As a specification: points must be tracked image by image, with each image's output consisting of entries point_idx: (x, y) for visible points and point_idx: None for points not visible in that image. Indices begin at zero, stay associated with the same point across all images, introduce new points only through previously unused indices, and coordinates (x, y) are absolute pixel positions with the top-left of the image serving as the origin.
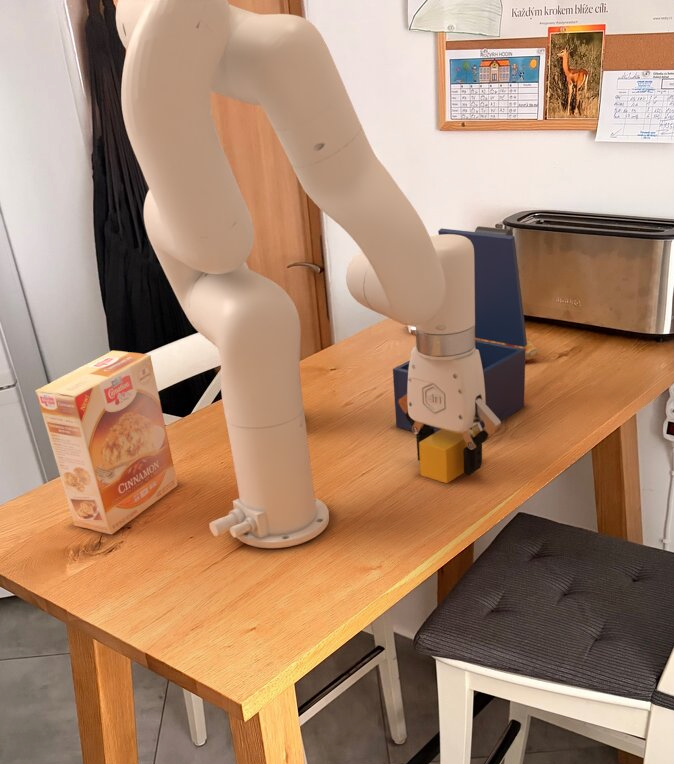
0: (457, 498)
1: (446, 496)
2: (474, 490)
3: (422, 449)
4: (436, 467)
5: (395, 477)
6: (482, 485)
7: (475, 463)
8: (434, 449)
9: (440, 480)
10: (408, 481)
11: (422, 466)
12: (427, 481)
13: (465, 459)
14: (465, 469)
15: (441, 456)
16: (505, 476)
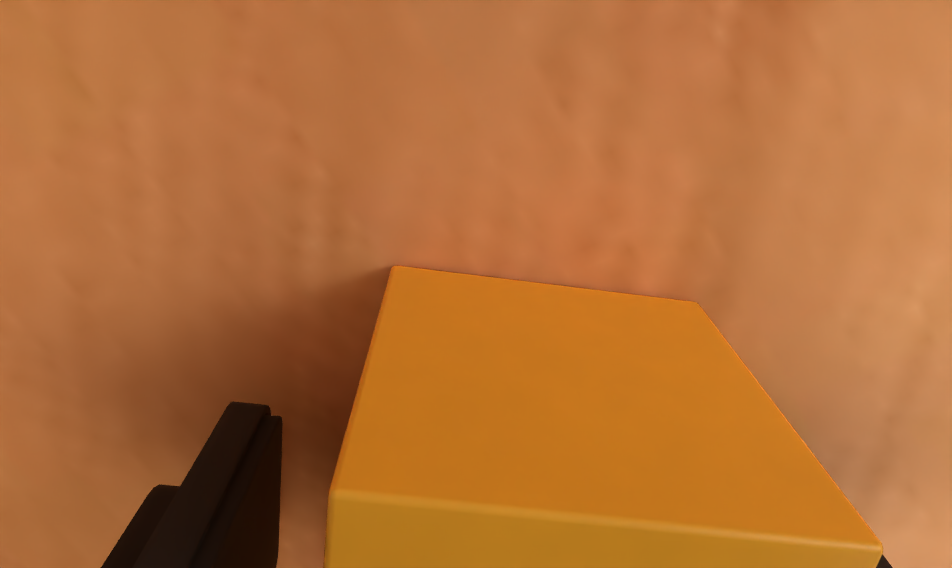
0: (129, 46)
1: (251, 35)
2: (100, 257)
3: (774, 470)
4: (518, 339)
5: (918, 173)
6: (104, 360)
7: (132, 519)
8: (564, 481)
9: (466, 275)
10: (760, 154)
11: (700, 342)
12: (584, 230)
13: (191, 510)
14: (238, 433)
15: (437, 420)
16: (54, 542)
